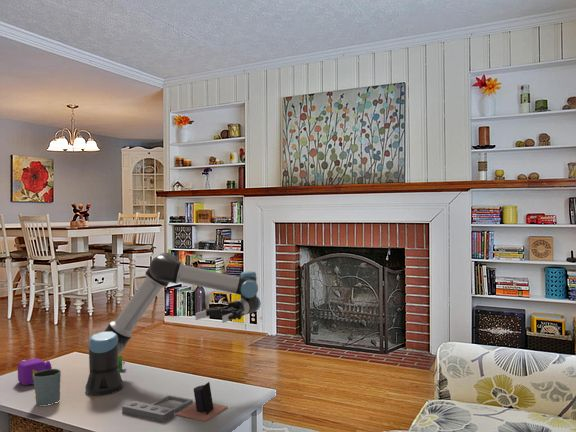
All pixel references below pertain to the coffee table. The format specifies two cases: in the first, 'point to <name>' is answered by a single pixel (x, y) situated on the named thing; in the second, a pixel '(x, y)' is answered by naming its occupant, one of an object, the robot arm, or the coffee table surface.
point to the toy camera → (31, 369)
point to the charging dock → (154, 408)
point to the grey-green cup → (47, 386)
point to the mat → (194, 414)
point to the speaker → (203, 398)
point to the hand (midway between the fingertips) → (209, 317)
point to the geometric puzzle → (120, 363)
